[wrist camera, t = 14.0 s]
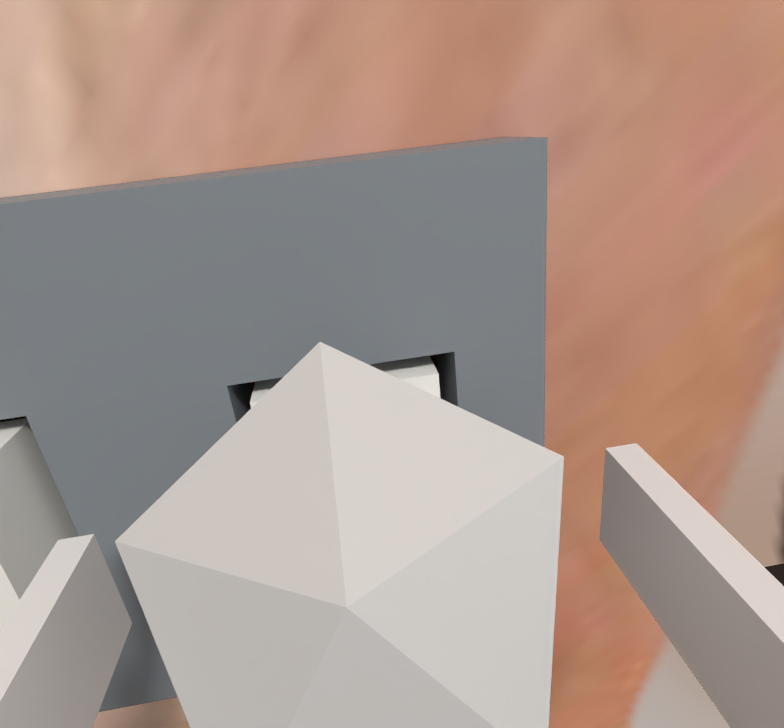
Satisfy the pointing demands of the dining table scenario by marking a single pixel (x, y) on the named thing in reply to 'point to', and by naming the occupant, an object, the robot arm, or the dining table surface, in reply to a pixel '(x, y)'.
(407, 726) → the die
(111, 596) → the robot arm
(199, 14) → the dining table surface
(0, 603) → the button
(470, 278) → the breaker panel
